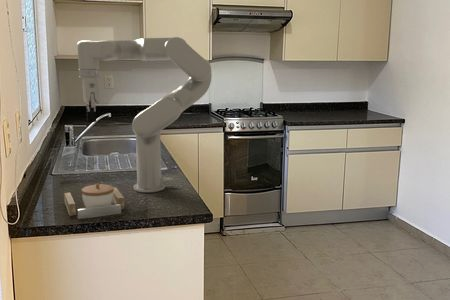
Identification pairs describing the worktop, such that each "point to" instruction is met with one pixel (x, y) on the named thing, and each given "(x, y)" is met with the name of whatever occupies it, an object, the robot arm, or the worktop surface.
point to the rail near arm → (118, 198)
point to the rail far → (70, 204)
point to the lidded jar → (97, 195)
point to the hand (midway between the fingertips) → (91, 121)
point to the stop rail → (99, 211)
